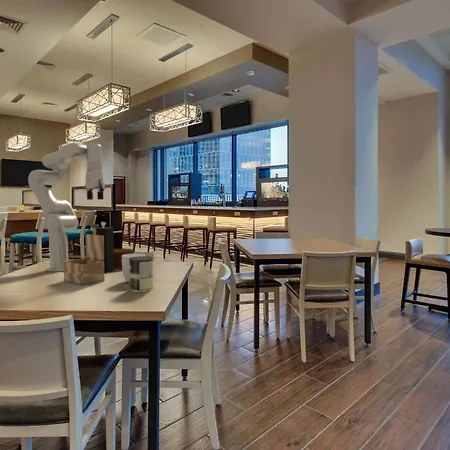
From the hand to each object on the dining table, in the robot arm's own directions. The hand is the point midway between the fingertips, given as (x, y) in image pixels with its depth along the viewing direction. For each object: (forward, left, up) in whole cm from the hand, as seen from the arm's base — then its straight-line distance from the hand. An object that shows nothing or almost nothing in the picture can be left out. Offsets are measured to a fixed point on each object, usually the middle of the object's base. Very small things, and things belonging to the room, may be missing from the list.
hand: (95, 199), depth 191 cm
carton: (+11, -14, -40) cm, 44 cm away
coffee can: (+47, -8, -40) cm, 63 cm away
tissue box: (-2, +6, -40) cm, 41 cm away
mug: (+32, +1, -40) cm, 52 cm away
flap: (+11, -9, -21) cm, 25 cm away
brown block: (-9, +21, -40) cm, 46 cm away
